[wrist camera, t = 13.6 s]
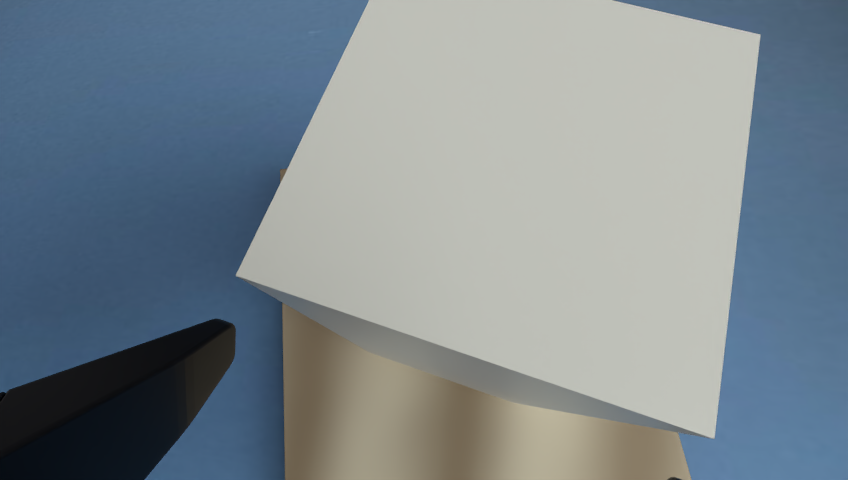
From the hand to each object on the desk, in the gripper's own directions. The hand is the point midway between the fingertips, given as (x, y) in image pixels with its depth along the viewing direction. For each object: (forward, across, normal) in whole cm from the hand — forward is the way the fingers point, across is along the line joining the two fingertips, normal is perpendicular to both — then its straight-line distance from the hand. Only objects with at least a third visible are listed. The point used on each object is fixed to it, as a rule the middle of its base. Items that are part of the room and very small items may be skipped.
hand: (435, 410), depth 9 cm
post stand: (+9, 0, +4) cm, 9 cm away
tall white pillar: (+8, 0, +3) cm, 9 cm away
